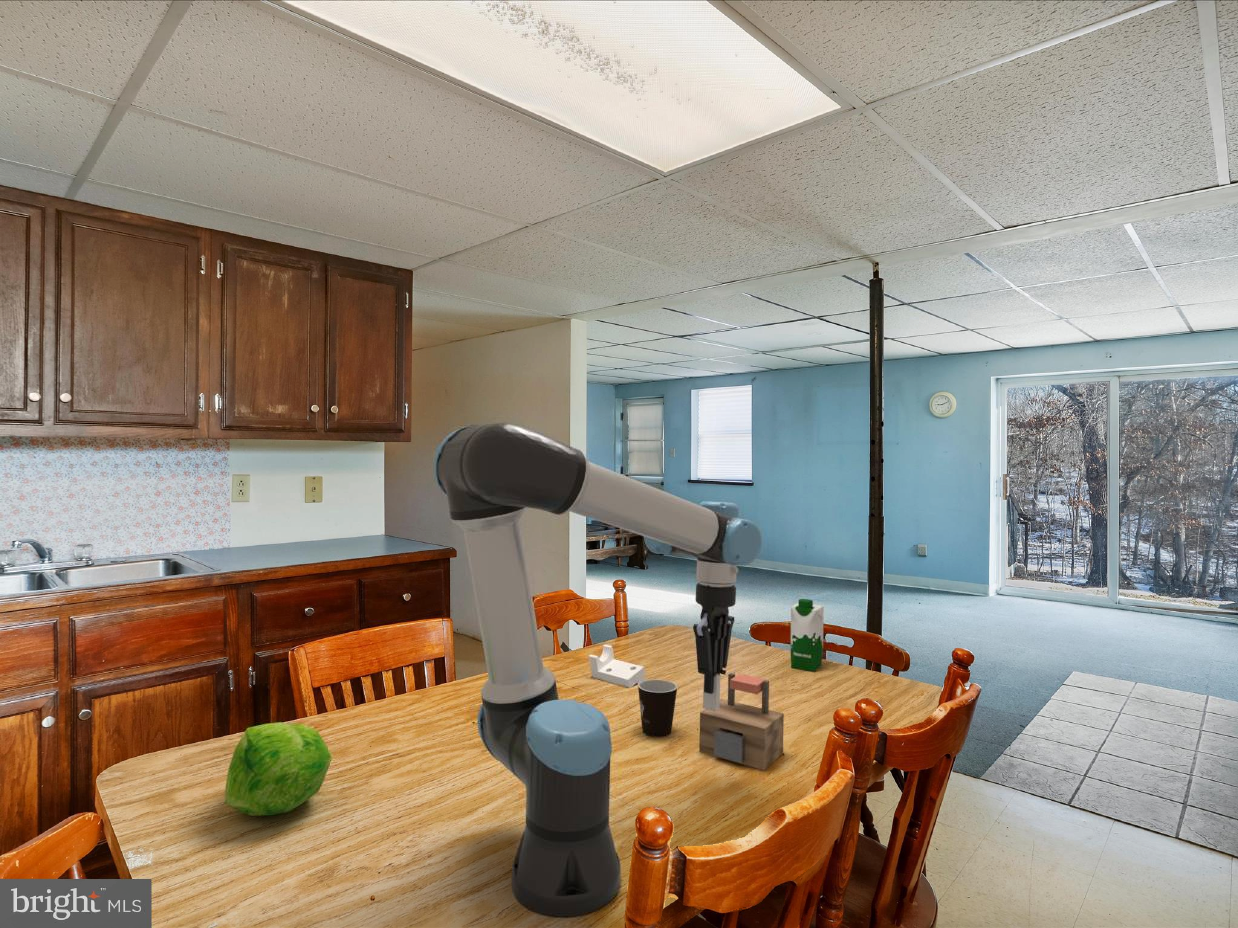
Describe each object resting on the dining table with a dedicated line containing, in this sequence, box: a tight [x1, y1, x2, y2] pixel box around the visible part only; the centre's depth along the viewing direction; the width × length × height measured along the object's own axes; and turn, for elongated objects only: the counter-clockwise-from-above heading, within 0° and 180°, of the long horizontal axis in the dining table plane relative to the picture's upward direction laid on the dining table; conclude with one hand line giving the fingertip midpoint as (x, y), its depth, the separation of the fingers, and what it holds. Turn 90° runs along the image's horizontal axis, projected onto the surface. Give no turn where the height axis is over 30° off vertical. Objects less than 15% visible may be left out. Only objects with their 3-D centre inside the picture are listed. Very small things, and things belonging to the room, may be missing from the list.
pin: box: [714, 729, 745, 764], centre depth 137 cm, size 15×6×5 cm, turn 145°
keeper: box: [730, 673, 768, 695], centre depth 138 cm, size 5×6×2 cm
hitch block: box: [698, 672, 785, 771], centre depth 136 cm, size 10×14×14 cm
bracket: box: [588, 644, 647, 689], centre depth 180 cm, size 13×7×8 cm, turn 51°
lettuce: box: [224, 721, 333, 817], centre depth 112 cm, size 15×20×14 cm
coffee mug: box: [637, 678, 678, 738], centre depth 147 cm, size 12×9×10 cm
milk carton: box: [790, 598, 825, 673], centre depth 195 cm, size 9×9×20 cm
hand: (710, 708), depth 125 cm, fingers closed
